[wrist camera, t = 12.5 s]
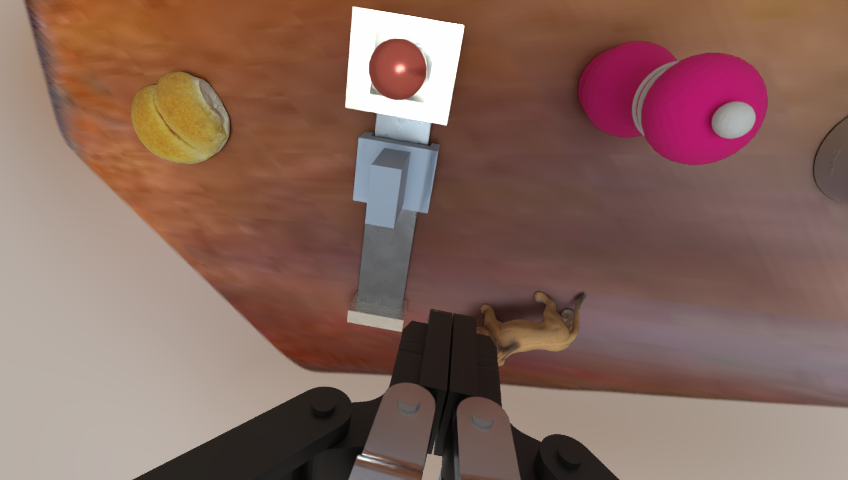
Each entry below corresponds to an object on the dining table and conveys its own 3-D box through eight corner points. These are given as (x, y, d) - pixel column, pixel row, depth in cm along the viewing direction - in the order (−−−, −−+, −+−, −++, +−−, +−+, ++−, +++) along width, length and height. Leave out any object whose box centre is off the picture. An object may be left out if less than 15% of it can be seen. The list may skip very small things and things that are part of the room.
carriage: (439, 144, 42) (433, 168, 33) (429, 202, 44) (421, 239, 36) (365, 131, 42) (341, 152, 33) (359, 190, 44) (335, 223, 36)
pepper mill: (669, 98, 39) (847, 147, 21) (592, 142, 41) (693, 220, 23) (637, 23, 37) (804, 3, 19) (557, 73, 39) (638, 99, 21)
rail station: (464, 28, 38) (464, 25, 31) (414, 312, 51) (406, 357, 43) (374, 13, 38) (352, 6, 31) (347, 300, 51) (327, 343, 43)
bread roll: (129, 100, 44) (98, 105, 40) (198, 59, 41) (172, 60, 38) (179, 174, 46) (155, 185, 43) (247, 139, 44) (227, 147, 40)
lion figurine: (468, 348, 52) (468, 405, 44) (450, 313, 50) (447, 365, 42) (590, 310, 48) (616, 364, 40) (576, 271, 47) (600, 319, 39)
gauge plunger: (435, 43, 35) (430, 43, 29) (427, 95, 36) (421, 104, 31) (386, 35, 35) (371, 33, 29) (380, 87, 36) (365, 95, 31)
